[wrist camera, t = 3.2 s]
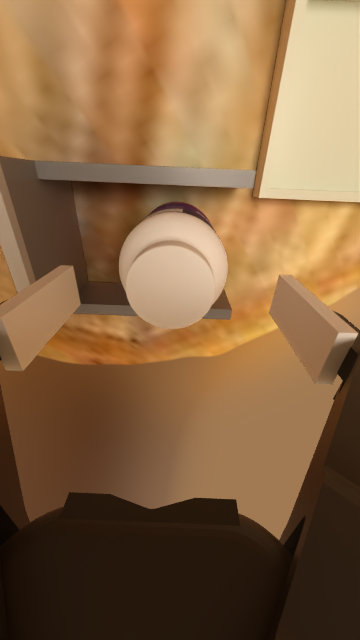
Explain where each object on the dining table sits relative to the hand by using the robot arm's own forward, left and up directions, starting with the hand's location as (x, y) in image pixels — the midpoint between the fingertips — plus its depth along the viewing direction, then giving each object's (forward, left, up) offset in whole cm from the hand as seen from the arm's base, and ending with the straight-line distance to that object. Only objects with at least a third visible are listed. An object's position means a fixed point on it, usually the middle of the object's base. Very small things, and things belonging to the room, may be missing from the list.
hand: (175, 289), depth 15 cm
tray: (+14, +12, -13) cm, 23 cm away
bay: (-3, 0, -13) cm, 14 cm away
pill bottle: (0, 0, -14) cm, 14 cm away
